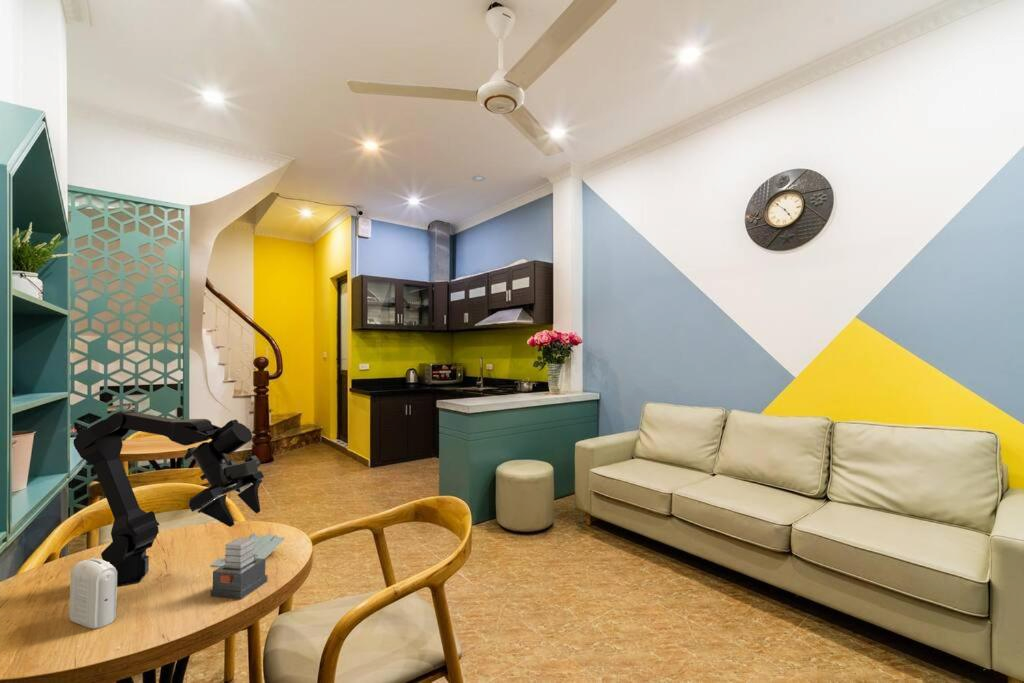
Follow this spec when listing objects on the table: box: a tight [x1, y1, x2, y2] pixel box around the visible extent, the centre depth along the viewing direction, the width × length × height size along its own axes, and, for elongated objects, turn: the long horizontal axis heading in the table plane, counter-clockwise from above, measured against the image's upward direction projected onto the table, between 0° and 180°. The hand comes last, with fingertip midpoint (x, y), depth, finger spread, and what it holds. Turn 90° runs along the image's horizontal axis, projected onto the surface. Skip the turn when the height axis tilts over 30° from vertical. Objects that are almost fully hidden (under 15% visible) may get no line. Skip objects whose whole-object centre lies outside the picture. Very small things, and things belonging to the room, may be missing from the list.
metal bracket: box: [210, 532, 286, 568], centre depth 118 cm, size 14×6×15 cm
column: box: [224, 537, 254, 571], centre depth 102 cm, size 4×4×9 cm
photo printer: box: [68, 558, 118, 630], centre depth 91 cm, size 10×4×12 cm, turn 69°
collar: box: [209, 558, 268, 600], centre depth 102 cm, size 8×8×6 cm
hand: (246, 518), depth 106 cm, fingers open, 9 cm apart
